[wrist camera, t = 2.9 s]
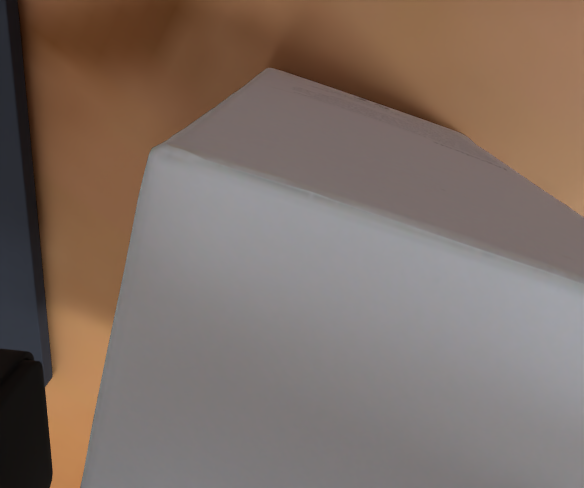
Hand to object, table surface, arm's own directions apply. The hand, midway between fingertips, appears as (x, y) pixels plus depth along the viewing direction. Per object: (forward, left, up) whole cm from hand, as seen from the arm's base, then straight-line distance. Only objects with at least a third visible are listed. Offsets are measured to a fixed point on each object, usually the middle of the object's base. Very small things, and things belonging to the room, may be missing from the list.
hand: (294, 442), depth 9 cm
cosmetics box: (0, 0, -8) cm, 8 cm away
